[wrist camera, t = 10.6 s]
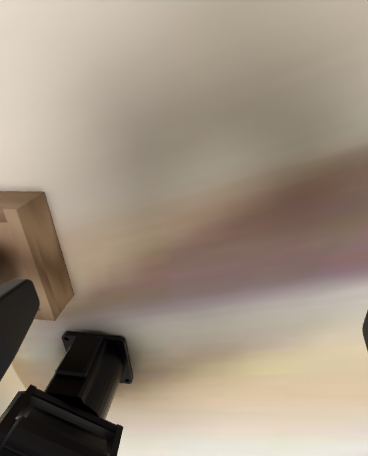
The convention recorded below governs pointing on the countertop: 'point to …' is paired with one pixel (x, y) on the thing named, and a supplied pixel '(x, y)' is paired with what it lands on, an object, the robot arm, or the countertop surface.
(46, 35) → the countertop surface
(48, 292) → the brown wooden tray
